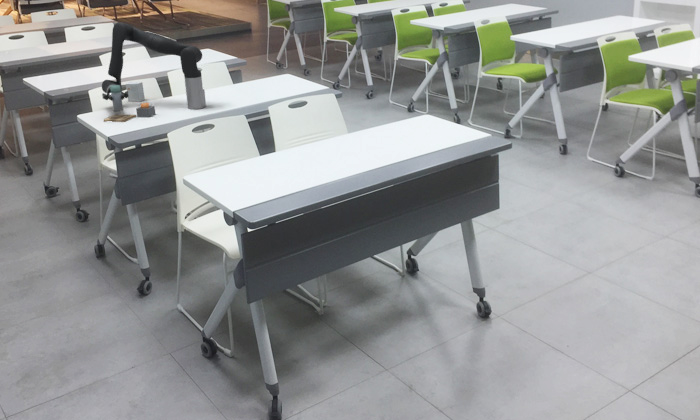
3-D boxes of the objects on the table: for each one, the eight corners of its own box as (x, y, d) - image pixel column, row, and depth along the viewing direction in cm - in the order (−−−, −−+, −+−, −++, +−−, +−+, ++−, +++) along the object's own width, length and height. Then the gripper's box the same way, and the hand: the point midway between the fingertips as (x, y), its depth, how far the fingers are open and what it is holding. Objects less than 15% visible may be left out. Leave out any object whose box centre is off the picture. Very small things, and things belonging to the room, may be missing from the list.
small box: (145, 99, 432) (142, 82, 429) (139, 101, 427) (137, 83, 424) (133, 99, 435) (131, 81, 431) (128, 101, 430) (125, 83, 426)
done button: (151, 108, 393) (150, 102, 392) (147, 110, 389) (146, 104, 388) (143, 108, 394) (143, 102, 393) (139, 109, 390) (139, 104, 389)
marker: (122, 108, 388) (119, 84, 384) (123, 110, 384) (120, 86, 379) (113, 109, 387) (109, 85, 382) (113, 111, 382) (110, 87, 378)
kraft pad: (136, 116, 391) (135, 114, 391) (124, 121, 380) (124, 119, 380) (115, 116, 394) (115, 114, 393) (103, 121, 383) (103, 119, 382)
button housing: (155, 114, 395) (154, 105, 393) (149, 117, 389) (148, 108, 387) (143, 113, 397) (142, 105, 395) (137, 116, 390) (136, 108, 389)
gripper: (99, 86, 392) (101, 92, 377) (127, 84, 396) (130, 89, 382) (101, 100, 394) (103, 106, 379) (128, 97, 399) (132, 103, 384)
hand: (117, 98), depth 381 cm, fingers closed on marker, 4 cm apart
